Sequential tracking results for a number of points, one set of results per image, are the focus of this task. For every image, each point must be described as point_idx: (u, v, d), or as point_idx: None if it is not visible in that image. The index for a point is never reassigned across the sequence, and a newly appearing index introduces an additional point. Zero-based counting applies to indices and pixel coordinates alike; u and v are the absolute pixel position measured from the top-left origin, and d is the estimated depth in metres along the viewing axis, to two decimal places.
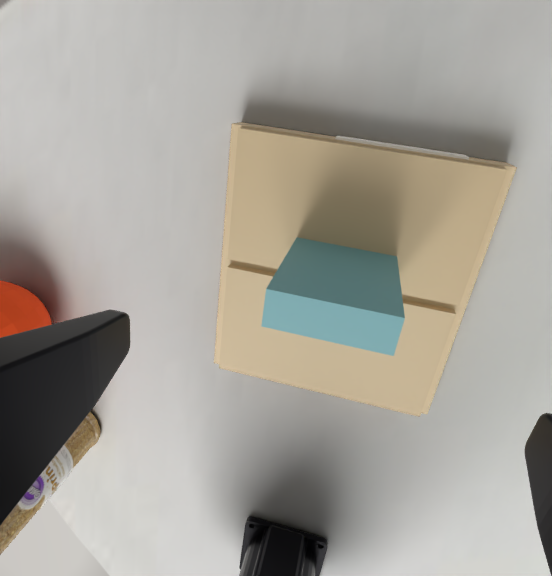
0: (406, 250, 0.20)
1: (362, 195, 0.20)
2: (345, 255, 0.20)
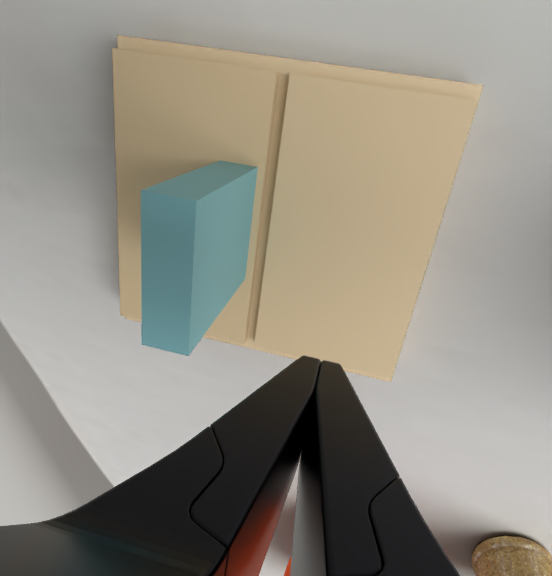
0: (212, 149, 0.17)
1: None
2: None
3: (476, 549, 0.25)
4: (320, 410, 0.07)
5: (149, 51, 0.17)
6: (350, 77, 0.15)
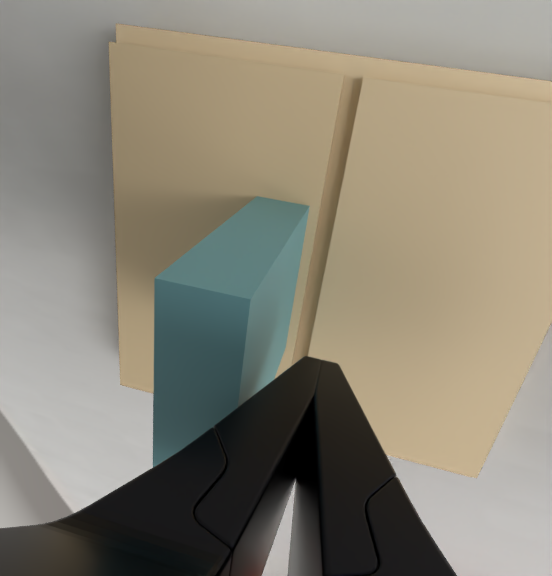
0: (246, 182, 0.12)
1: (173, 249, 0.14)
2: None
3: None
4: (318, 409, 0.07)
5: (160, 46, 0.12)
6: (449, 83, 0.11)
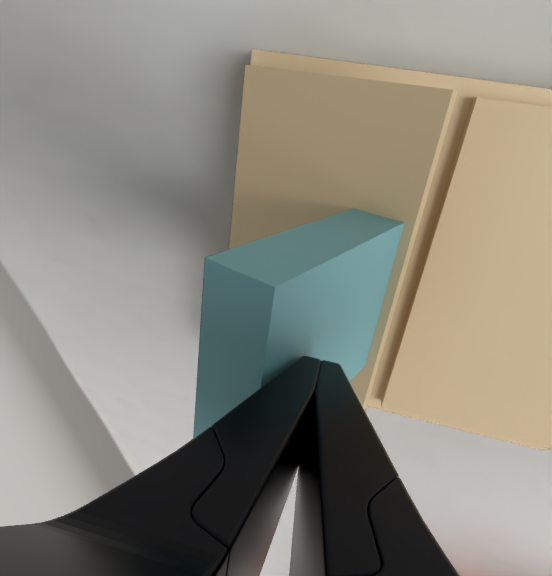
0: (345, 193, 0.13)
1: None
2: None
3: None
4: (319, 410, 0.07)
5: (290, 68, 0.14)
6: (550, 102, 0.13)
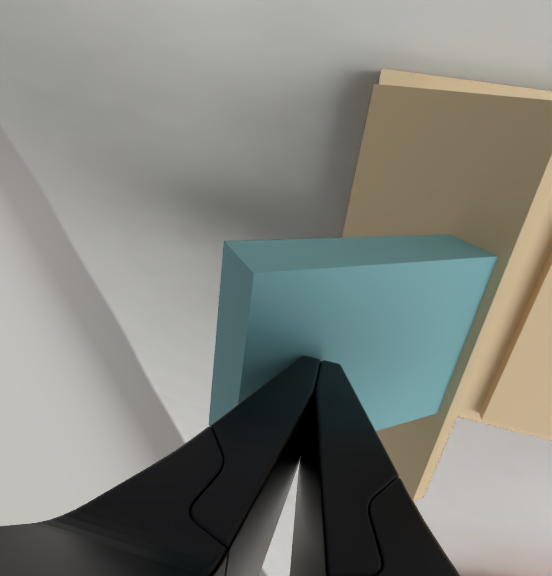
0: (442, 217, 0.12)
1: None
2: None
3: None
4: (320, 410, 0.07)
5: None
6: None
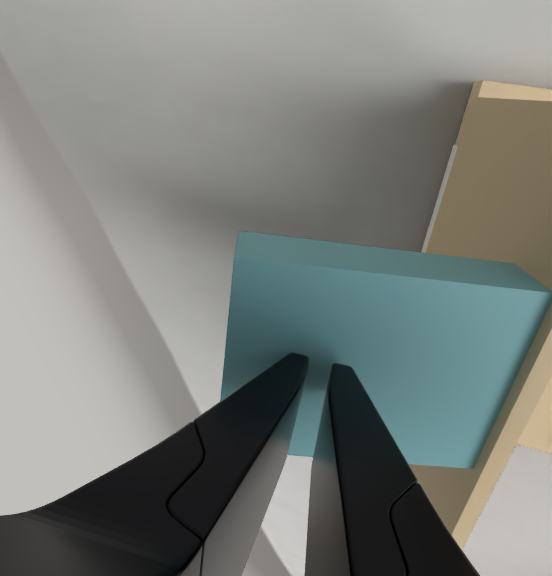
0: (510, 243, 0.10)
1: None
2: None
3: None
4: (335, 414, 0.07)
5: None
6: None
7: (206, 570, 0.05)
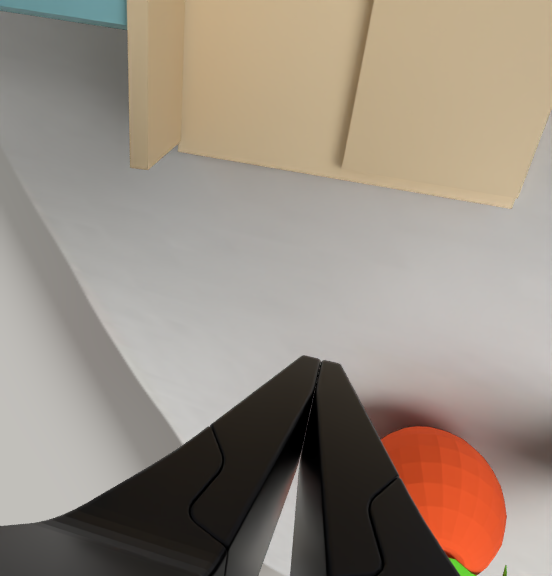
0: None
1: None
2: None
3: None
4: (320, 410, 0.07)
5: None
6: None
7: None
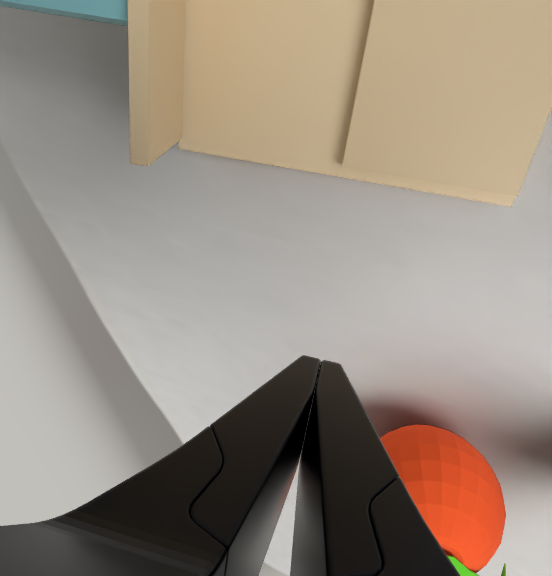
0: None
1: None
2: None
3: None
4: (320, 410, 0.07)
5: None
6: None
7: None
